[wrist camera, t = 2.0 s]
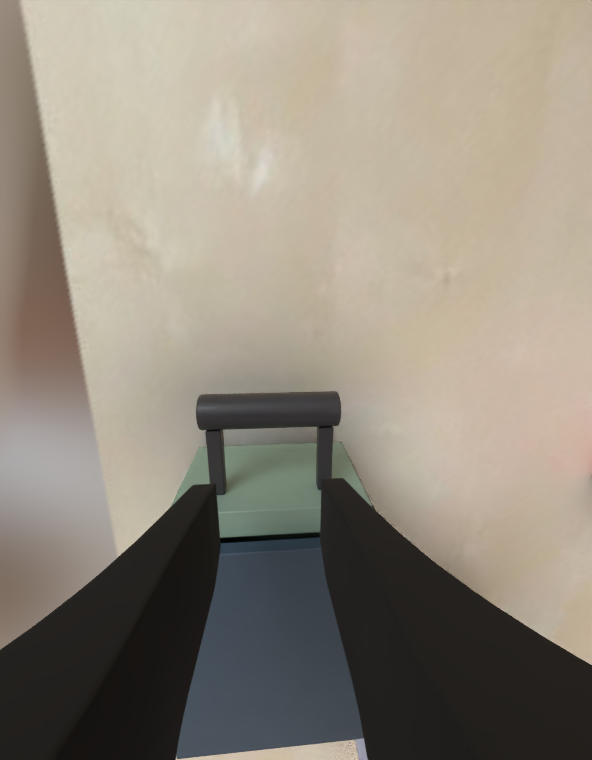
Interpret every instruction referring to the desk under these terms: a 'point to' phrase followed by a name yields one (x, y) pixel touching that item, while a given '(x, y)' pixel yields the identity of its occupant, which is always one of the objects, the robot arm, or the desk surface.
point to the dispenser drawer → (269, 464)
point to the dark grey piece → (269, 656)
